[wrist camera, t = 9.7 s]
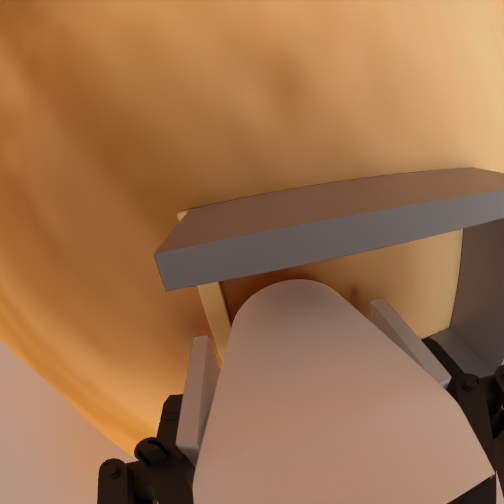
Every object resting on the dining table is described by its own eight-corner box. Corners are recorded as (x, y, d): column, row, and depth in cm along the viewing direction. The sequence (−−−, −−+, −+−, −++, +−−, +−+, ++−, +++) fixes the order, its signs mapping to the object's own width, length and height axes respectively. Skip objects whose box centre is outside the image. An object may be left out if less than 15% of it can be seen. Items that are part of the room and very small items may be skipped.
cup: (309, 399, 17) (351, 555, 6) (183, 358, 15) (153, 561, 4) (394, 296, 15) (524, 450, 3) (261, 221, 13) (371, 526, 1)
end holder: (179, 211, 14) (135, 258, 8) (472, 167, 14) (547, 184, 8) (236, 399, 19) (239, 476, 12) (456, 334, 19) (500, 379, 12)
